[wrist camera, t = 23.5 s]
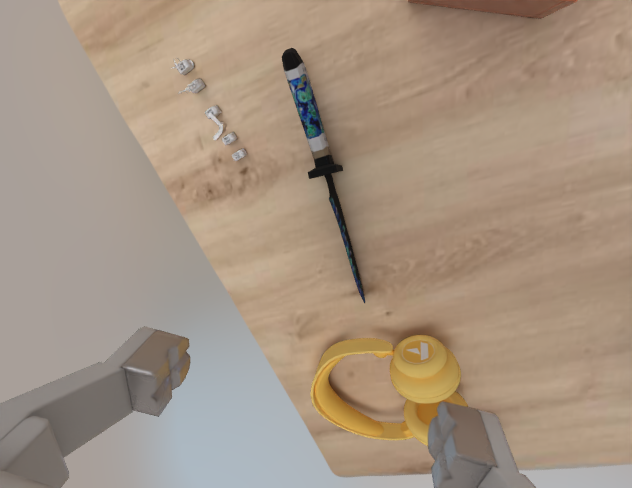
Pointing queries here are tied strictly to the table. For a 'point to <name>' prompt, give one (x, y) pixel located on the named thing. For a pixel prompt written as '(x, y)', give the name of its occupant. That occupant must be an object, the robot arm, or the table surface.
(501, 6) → the terracotta bin
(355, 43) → the table surface
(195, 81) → the figurines set
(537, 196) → the table surface
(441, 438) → the robot arm
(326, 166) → the knife
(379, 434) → the headset
